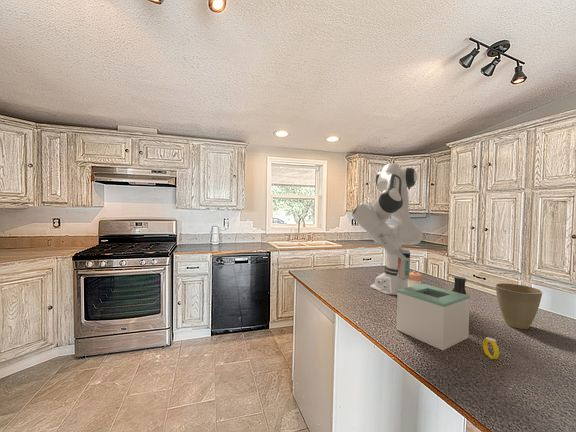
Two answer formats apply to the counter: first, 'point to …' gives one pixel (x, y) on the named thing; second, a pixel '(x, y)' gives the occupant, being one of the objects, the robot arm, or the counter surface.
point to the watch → (495, 347)
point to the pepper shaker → (414, 279)
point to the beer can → (403, 265)
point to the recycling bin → (433, 315)
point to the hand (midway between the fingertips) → (405, 258)
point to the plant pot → (518, 304)
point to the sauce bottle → (459, 285)
